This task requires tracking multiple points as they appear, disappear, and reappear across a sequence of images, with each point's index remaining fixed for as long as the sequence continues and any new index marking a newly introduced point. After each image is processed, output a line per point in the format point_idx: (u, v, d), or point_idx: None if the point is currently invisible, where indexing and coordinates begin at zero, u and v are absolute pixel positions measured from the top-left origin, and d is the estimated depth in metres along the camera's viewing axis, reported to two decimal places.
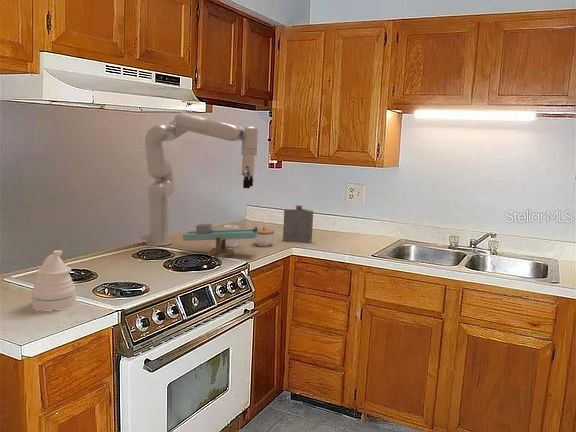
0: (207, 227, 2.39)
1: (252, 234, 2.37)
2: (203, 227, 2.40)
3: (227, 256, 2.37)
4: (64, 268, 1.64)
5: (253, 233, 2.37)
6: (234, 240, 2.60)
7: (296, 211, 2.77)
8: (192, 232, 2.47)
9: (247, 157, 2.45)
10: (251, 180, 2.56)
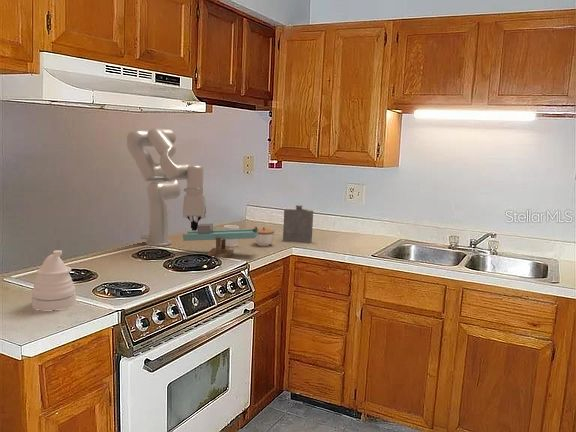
0: (208, 227, 2.39)
1: (252, 234, 2.37)
2: (204, 227, 2.40)
3: (227, 256, 2.37)
4: (64, 268, 1.64)
5: (253, 233, 2.37)
6: (234, 240, 2.60)
7: (296, 211, 2.77)
8: (192, 232, 2.47)
9: (204, 197, 2.40)
10: None
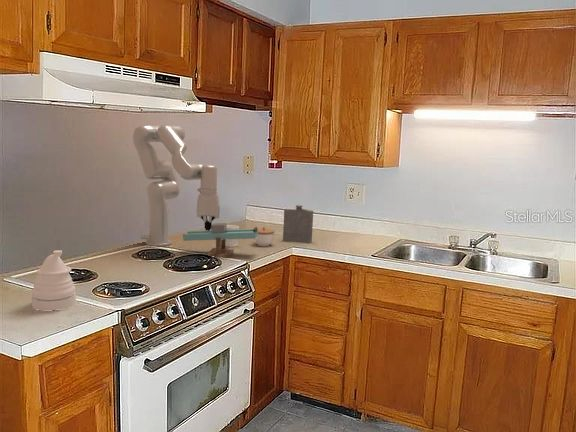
0: (222, 226, 2.39)
1: (252, 234, 2.37)
2: (218, 226, 2.39)
3: (227, 256, 2.37)
4: (64, 268, 1.64)
5: (253, 233, 2.37)
6: (234, 240, 2.60)
7: (296, 211, 2.77)
8: (192, 232, 2.47)
9: None
10: None
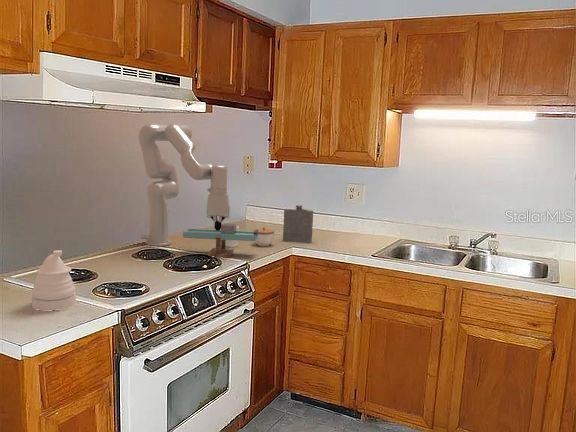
0: (232, 227, 2.38)
1: (252, 237, 2.37)
2: (228, 227, 2.38)
3: (227, 256, 2.37)
4: (64, 268, 1.64)
5: (253, 236, 2.37)
6: (234, 240, 2.60)
7: (296, 211, 2.77)
8: (192, 229, 2.47)
9: None
10: None
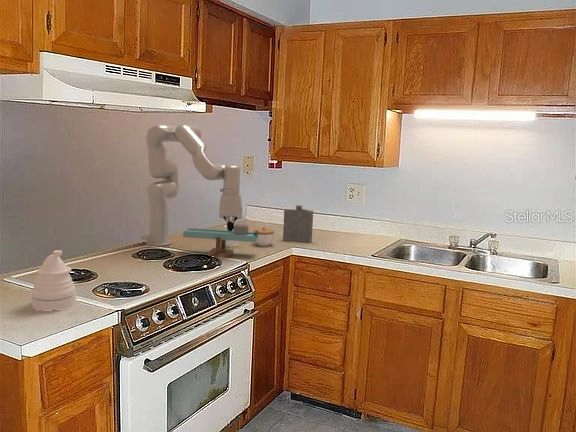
0: (244, 228, 2.38)
1: (252, 238, 2.37)
2: (240, 228, 2.38)
3: (227, 256, 2.37)
4: (64, 268, 1.64)
5: (254, 237, 2.37)
6: None
7: (296, 211, 2.77)
8: (192, 229, 2.47)
9: (240, 197, 2.39)
10: None
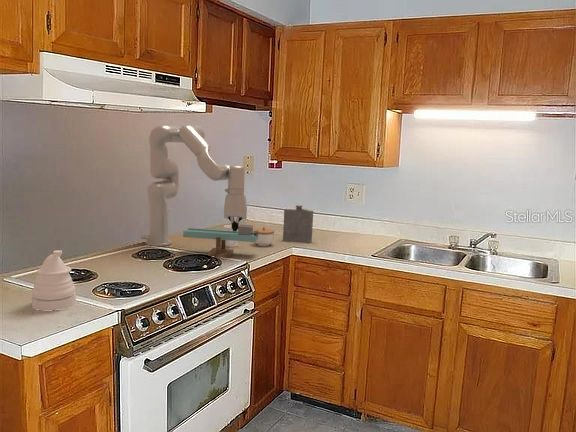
0: (249, 229, 2.38)
1: (252, 238, 2.37)
2: (245, 228, 2.38)
3: (227, 256, 2.37)
4: (64, 268, 1.64)
5: (254, 237, 2.37)
6: None
7: (296, 211, 2.77)
8: (192, 229, 2.47)
9: (245, 197, 2.39)
10: None
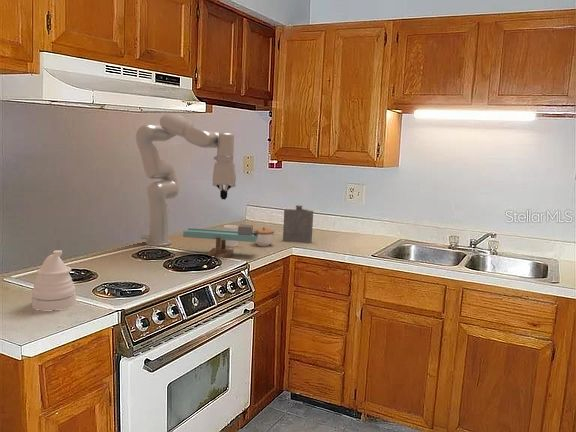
0: (249, 229, 2.38)
1: (252, 238, 2.37)
2: (245, 228, 2.38)
3: (227, 256, 2.37)
4: (64, 268, 1.64)
5: (254, 237, 2.37)
6: None
7: (296, 211, 2.77)
8: (192, 229, 2.47)
9: (234, 165, 2.37)
10: None
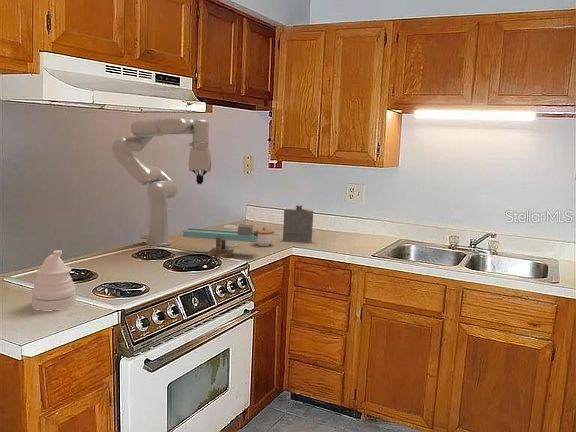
0: (249, 229, 2.38)
1: (252, 238, 2.37)
2: (245, 228, 2.38)
3: (227, 256, 2.37)
4: (64, 268, 1.64)
5: (254, 237, 2.37)
6: None
7: (296, 211, 2.77)
8: (192, 229, 2.47)
9: (209, 151, 2.46)
10: None
